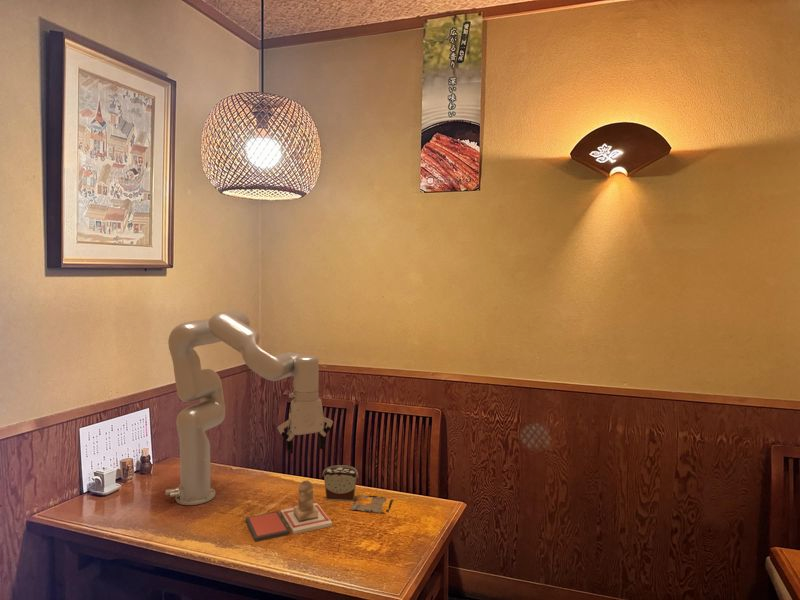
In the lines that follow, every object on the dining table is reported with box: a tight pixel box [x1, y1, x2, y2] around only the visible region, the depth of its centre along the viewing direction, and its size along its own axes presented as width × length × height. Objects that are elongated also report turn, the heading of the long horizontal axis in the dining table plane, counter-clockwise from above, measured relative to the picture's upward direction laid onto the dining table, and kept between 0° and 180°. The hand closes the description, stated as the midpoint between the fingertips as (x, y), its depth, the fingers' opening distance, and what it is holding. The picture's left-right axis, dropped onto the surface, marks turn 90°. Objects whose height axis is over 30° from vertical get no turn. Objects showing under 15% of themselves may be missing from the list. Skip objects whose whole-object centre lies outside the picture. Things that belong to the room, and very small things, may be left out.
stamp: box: [293, 480, 318, 522], centre depth 167 cm, size 6×6×11 cm
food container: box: [321, 464, 359, 502], centre depth 184 cm, size 12×6×10 cm, turn 84°
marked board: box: [280, 502, 333, 535], centre depth 167 cm, size 12×15×1 cm
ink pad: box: [245, 510, 291, 543], centre depth 162 cm, size 10×14×1 cm
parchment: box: [350, 494, 393, 515], centre depth 179 cm, size 12×13×1 cm
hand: (305, 450), depth 166 cm, fingers open, 9 cm apart
